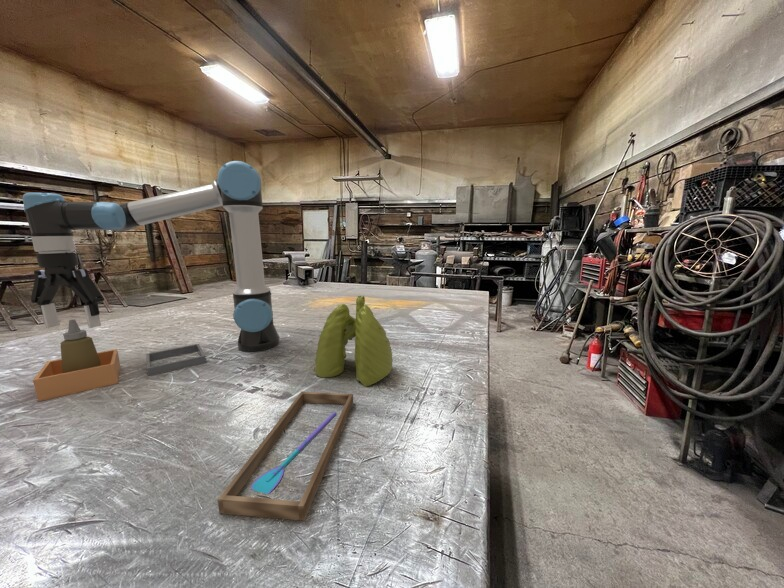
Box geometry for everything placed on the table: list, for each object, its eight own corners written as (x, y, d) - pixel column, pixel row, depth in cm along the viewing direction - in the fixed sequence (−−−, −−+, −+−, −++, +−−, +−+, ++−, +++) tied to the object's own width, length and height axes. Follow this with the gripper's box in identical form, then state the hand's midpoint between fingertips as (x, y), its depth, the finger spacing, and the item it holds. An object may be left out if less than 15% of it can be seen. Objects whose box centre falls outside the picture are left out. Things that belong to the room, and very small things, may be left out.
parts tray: (199, 349, 115) (198, 343, 114) (206, 362, 103) (205, 355, 102) (147, 360, 105) (146, 353, 105) (148, 376, 93) (146, 368, 93)
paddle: (265, 501, 49) (265, 495, 49) (245, 494, 50) (245, 488, 50) (339, 415, 72) (339, 411, 72) (324, 412, 74) (324, 408, 73)
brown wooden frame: (353, 403, 77) (353, 394, 77) (304, 520, 45) (303, 506, 45) (302, 400, 78) (301, 391, 78) (219, 513, 47) (217, 499, 46)
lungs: (400, 368, 97) (399, 294, 93) (379, 390, 83) (378, 305, 79) (334, 357, 107) (331, 290, 103) (306, 375, 93) (301, 298, 88)
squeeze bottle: (110, 372, 93) (99, 316, 90) (81, 385, 85) (67, 324, 82) (87, 371, 94) (76, 316, 91) (56, 384, 86) (42, 323, 83)
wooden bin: (120, 366, 101) (117, 349, 100) (117, 383, 89) (113, 364, 88) (51, 380, 91) (47, 361, 90) (38, 401, 79) (32, 380, 78)
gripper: (111, 250, 85) (125, 323, 89) (33, 252, 88) (51, 322, 92) (81, 252, 78) (99, 331, 82) (-2, 253, 80) (19, 330, 84)
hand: (73, 326), depth 87 cm, fingers open, 13 cm apart
